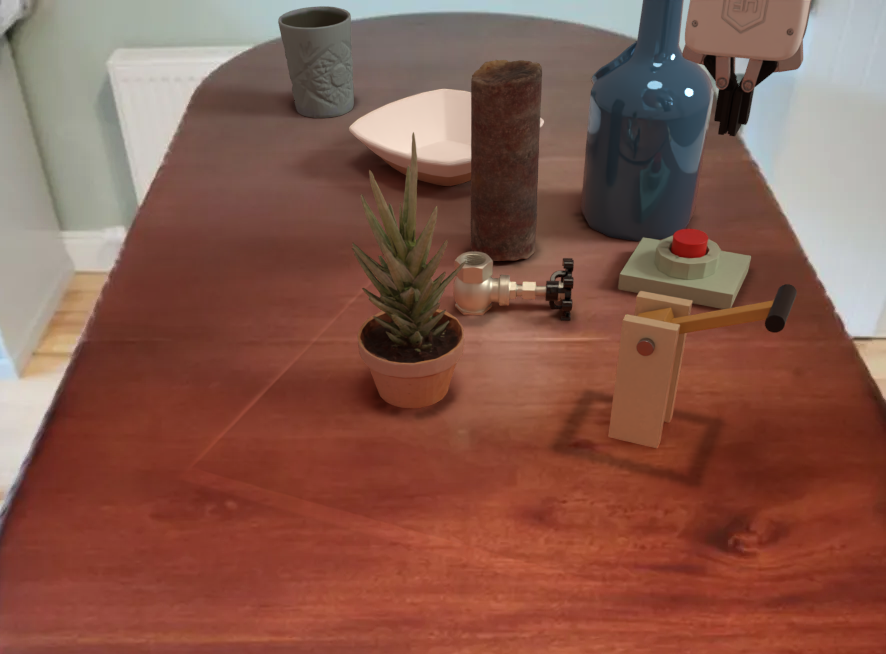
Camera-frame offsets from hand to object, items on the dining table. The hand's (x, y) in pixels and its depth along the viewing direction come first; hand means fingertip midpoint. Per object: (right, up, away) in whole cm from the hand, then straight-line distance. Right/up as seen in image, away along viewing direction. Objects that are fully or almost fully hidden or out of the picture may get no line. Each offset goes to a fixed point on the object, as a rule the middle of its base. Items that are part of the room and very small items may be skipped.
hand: (729, 130), depth 96 cm
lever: (-6, -24, -17) cm, 30 cm away
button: (-1, -8, +10) cm, 13 cm away
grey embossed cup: (-45, +27, +51) cm, 73 cm away
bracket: (-10, -31, -7) cm, 33 cm away
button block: (-1, -11, +12) cm, 17 cm away
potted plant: (-30, -26, -2) cm, 40 cm away
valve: (-20, -16, +8) cm, 27 cm away
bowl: (-27, +12, +36) cm, 46 cm away
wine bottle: (-5, 0, +23) cm, 24 cm away
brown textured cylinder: (-21, -6, +18) cm, 28 cm away
